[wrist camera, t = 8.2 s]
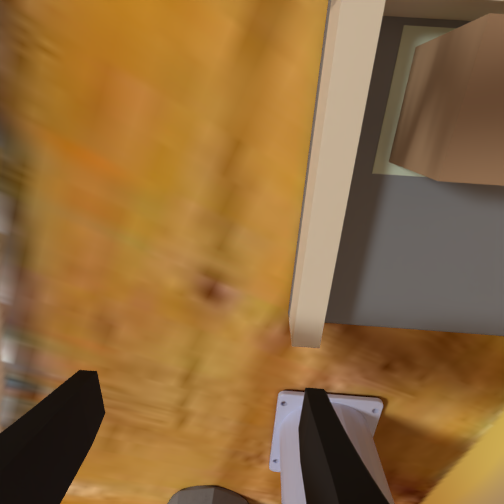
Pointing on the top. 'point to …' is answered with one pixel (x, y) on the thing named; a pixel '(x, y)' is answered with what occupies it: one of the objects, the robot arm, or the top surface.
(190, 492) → the coffeepot
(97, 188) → the top surface
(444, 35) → the walnut cube
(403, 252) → the grey corner tray
